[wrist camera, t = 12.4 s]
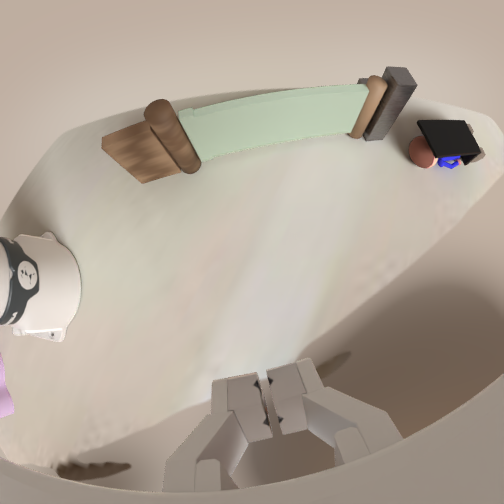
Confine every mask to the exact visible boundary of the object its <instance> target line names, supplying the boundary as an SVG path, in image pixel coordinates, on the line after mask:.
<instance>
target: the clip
mask: <svg viewBox="0 0 504 504" xmlns="http://www.w3.org/2000/svg"><path fill="white" fill-rule="evenodd" d="M13 413H14V405H13V401H12V398H11V396H10V394H9V392H8V390H7V388H6V384H5V370H4V364H3V360H2V356H1V353H0V418H2V417H5V416H7V415H10V414H13Z"/></svg>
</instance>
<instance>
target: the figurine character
mask: <svg viewBox="0 0 504 504" xmlns="http://www.w3.org/2000/svg"><path fill="white" fill-rule="evenodd" d="M416 123H417V125H418V126H419V128H420V130H421V132H422V134H423V135H424V136H418V137H416V138H414V139H413V140H412V141H411V143H410V145H409V155H410V157H411V159H412V161H413V162H414V163H415V164H416V165H417V166H419V167H421V168H430V167H432V166H434V165H435V164H436V162H438V165H439V166H440V167H443V166H446V167H448V168H450V169H452V168H454V167H456V166H457V165H460V164H461V161H463V163H464V165H467V164H469V163H470V162H476V161H478V160H480V159H482V158H483V157H484V156H485V153H484V151H483V149H482V148H479V146H478V144H477V142H476V140H475V138H474V137H473V135H472V134H473V132H474V131H473V129H472V127H471V126H470V124H466V122H465V121H464V120H418V121H417V122H416ZM449 160H454V161H455V162H454V163H453V164H449V163H447V162H445V161H449Z"/></svg>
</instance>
